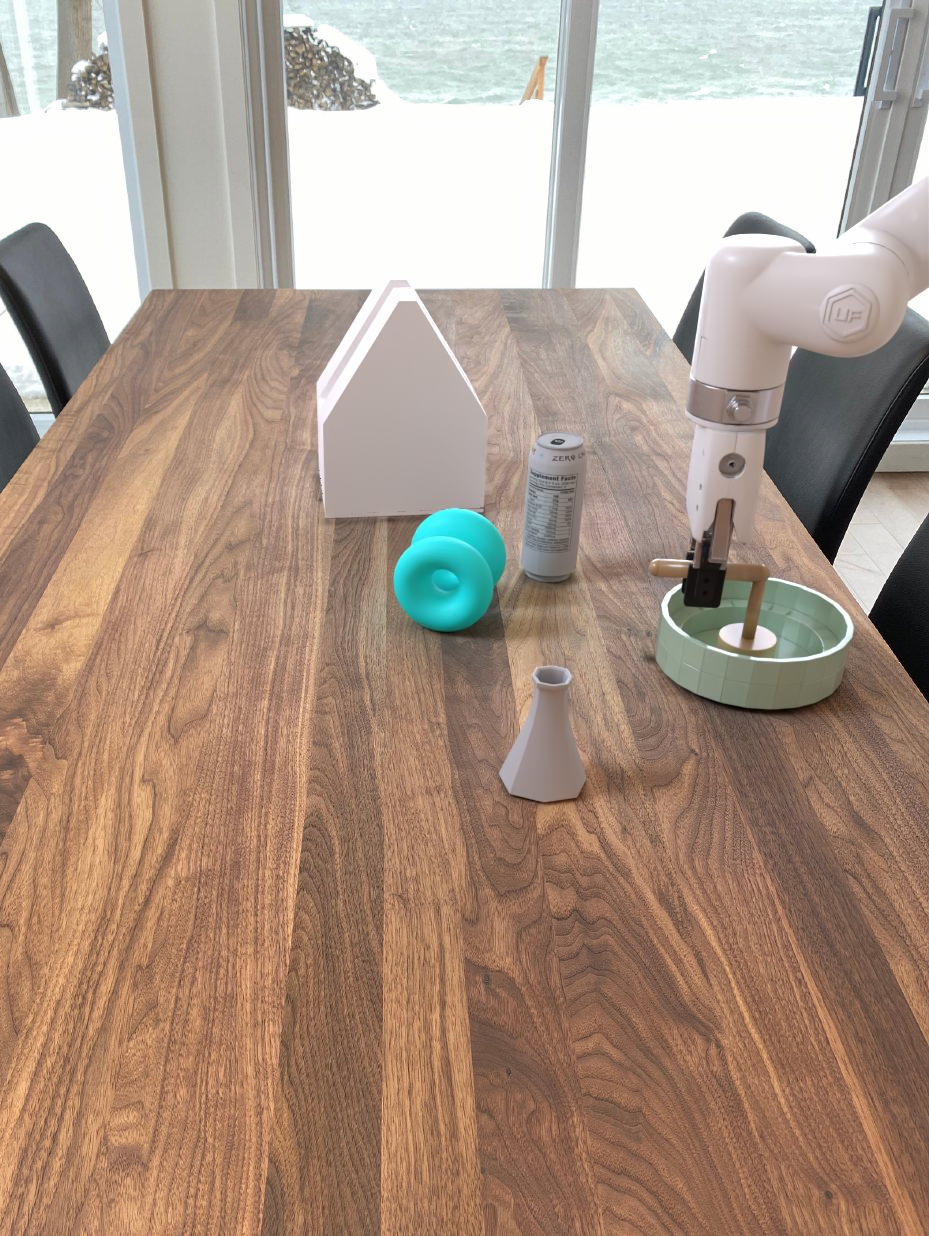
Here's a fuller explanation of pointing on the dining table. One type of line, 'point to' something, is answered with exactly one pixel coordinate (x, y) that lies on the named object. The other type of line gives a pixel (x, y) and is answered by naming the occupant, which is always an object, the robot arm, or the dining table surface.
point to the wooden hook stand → (747, 634)
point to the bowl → (793, 678)
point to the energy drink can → (553, 506)
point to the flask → (546, 744)
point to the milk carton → (398, 414)
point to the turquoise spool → (450, 570)
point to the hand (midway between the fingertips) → (700, 598)
